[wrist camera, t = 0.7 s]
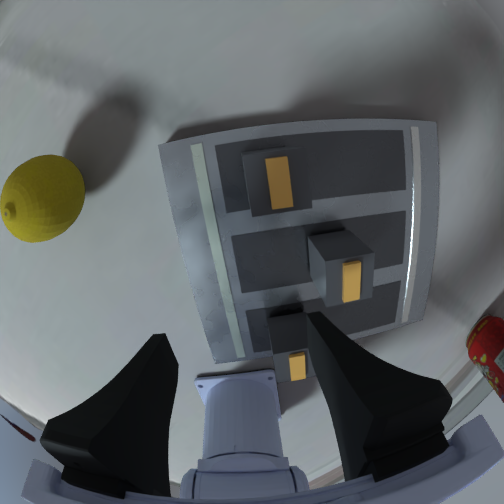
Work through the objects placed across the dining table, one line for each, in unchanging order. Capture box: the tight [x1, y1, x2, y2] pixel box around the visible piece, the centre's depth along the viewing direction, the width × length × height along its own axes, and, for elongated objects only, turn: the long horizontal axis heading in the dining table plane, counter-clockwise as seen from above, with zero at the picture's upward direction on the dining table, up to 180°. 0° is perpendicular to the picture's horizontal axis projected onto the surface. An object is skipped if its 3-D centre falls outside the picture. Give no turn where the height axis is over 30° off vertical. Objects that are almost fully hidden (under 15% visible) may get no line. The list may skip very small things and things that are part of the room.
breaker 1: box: [241, 146, 312, 217], centre depth 15 cm, size 3×3×4 cm
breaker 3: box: [308, 230, 375, 307], centre depth 17 cm, size 3×3×4 cm
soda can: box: [466, 315, 504, 403], centre depth 21 cm, size 7×7×12 cm
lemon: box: [0, 155, 85, 243], centre depth 14 cm, size 6×6×8 cm
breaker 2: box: [267, 312, 316, 383], centre depth 19 cm, size 3×3×4 cm
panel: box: [158, 119, 439, 364], centre depth 20 cm, size 18×20×2 cm
